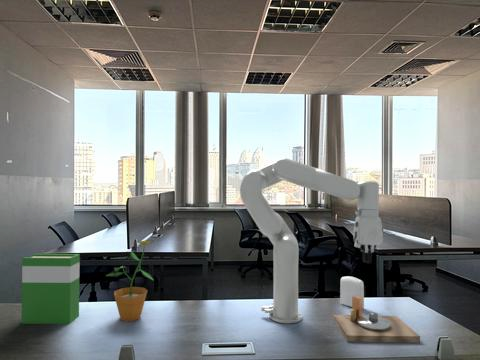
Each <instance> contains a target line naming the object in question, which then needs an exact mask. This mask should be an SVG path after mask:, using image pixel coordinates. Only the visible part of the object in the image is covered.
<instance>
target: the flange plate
mask: <svg viewBox="0 0 480 360" xmlns="http://www.w3.org/2000/svg"><path fill="white" fill-rule="evenodd" d="M351 309H355V310H356V320H357V323H358V325H359V326H361V327H363V328H366V329H369V330H375V331H384V330H388V329H389V328H390V322H389V321H388V320H387V319H385V318H382V317H378V316H379V313H377V312H375V311H370V312H369V313H368V314H367V315H365V314H364V315H363V309H362V297H358V296H353V297H352V307H351ZM362 315H363V316H362Z"/></svg>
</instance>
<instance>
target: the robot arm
mask: <svg viewBox="0 0 480 360" xmlns="http://www.w3.org/2000/svg"><path fill="white" fill-rule="evenodd" d="M282 181H285V182H288V183H291V184H294V185H295V186H296V185H297V186H300V187H303V188H305V189H308V190H312V191H318V192H320V193H323V194H324V193H325V194H328V195H331V196H334V197H336V198H339V199H342V200H343V201H344V200H345V201H348V202H349V201H355V200H357V205H356V207H357V210H355V211H354V214H355V215H356V217H355V220H354V225H353V226H354V227H353V237H352V238H353V242H354V245H353V246H354V247H355V248H358V249H359V250H360V252H362V262H363V263H365V264H372V260H373V253H374V252H375V249H376V248H379V247H381V244H383V242H384V239H383V238H384V236H383V235H384V233H383V225H382V224H383V223H382V219H381V217H379V211H380V210H379V204H380V203H379V201H380V199H379V197H380V196H379V195H380V185H379V182H377V181H374V180H373V181H370V180H368V181H366V180H365V181H364V180H363V181H355V180H352V179H350V178H346V177H344V176H340V175H337V174H335V173H332V172H328V171H325V170H324V169H323V170H322V169H320V168H317V167H314V166H311V165H308V164H306V163H302V162H299V161H296V160H293V159H290V158H287V157H279V158H277V159H275V161H273V162H272V163H270V164H268V165H266V166H265V165H264V166H263V167H262V168H258V169H251V170H249V171H248V172H246V174H245V175H244V177H243V178H242V180H241V183H240V187H239V194H240V199H241V201H242V203H243V206H244V207H245V208H246V210H247V212H248V213H249V215H250V216H251V218H252V220H253V221H254V223H255V224H256V226H257V228H258V229H259V230H260V232H261V233H262V235H264V236H265V237H267V238H268V239H269V241H270V242H271V244H272V246H273V250H272V253H273V254H272V256H273V257H272V259H273V260H272V261H273V275H272V276H273V289H272V290H273V302H272V303H271V304H270V305H269V306H266V305H262V306H261V312H264V313H265V314H269V316H268V317H269V319H270V320H272V321H274V322H275V323H276V322H277V323H280V324H296V323H298V322H300V321H302V318H303V315H302V313H301V312H300V311H299V256H300V255H299V241H298V240H297V238H296V236H295V235H294V233H293V232H292V230H291V229H290V228H289V226H288V224H287V223H286V221H285V220H284V219H283V217H282V216H281V215H280V214H279V213H278V212H276V211H275V210H274V209H273V208H272V206H271V205H270V203H269V202H268V200H267V199H266V198H265V196H264V195H263V190H264V189H266V188H270V187H271V186H275V185H277V184H279V183H281V182H282Z"/></svg>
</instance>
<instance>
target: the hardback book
mask: <svg viewBox="0 0 480 360" xmlns="http://www.w3.org/2000/svg"><path fill="white" fill-rule="evenodd" d="M80 256H81V255H80V253H72V254H71V253H33V254H32V256H31V257H30V256H29V257H22V259H21V261H22V262H21V263H22V264H21V267H22V271H21V272H22V273H21V277H22V278H21V324H25V325H27V324H29V325H30V324H38V325H40V324H43V325H47V324H49V325H50V324H52V325H53V324H54V325H56V324H57V325H59V324H60V325H66V324H69V325H70V324H72V323H73V322H74V321H75V320H76V319H77V318H78V317H80V271H81V270H80V264H81V263H80V261H81V258H80Z"/></svg>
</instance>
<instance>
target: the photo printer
mask: <svg viewBox="0 0 480 360" xmlns="http://www.w3.org/2000/svg"><path fill="white" fill-rule="evenodd" d="M339 283H340V288H339V289H340V290H339V293H340V295H339V297H340V299H339V303H340V304H341V305H344V306H347V307H351V308H352V297H353V296H358V297H362V310H363V309H364V307H365V290H364V289H365V285H364V283H365V282H364V281H363V280H361V279H359V278H357V277H354V276H348V275H347V276H342V277H341V278H340V282H339Z"/></svg>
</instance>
